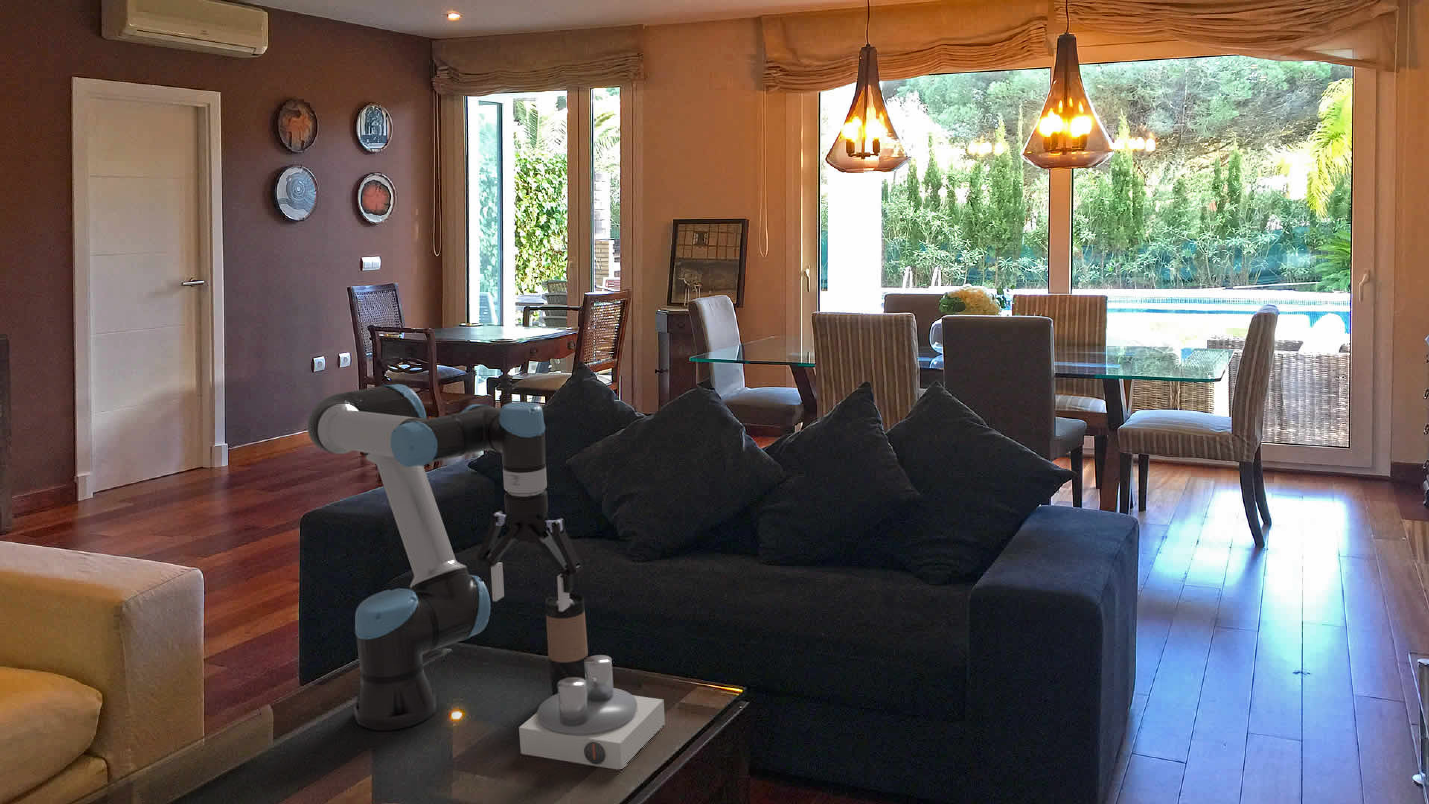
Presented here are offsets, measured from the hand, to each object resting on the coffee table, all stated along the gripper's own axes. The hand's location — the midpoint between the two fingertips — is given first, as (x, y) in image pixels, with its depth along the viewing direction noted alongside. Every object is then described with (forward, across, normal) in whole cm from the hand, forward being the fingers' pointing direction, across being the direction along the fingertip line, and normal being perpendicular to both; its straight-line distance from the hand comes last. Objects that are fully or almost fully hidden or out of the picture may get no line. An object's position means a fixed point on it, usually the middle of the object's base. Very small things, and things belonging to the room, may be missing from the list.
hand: (531, 603), depth 218 cm
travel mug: (+26, -1, +16) cm, 30 cm away
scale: (+25, +12, +1) cm, 27 cm away
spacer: (+19, +10, -5) cm, 22 cm away
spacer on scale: (+19, +10, +6) cm, 22 cm away
